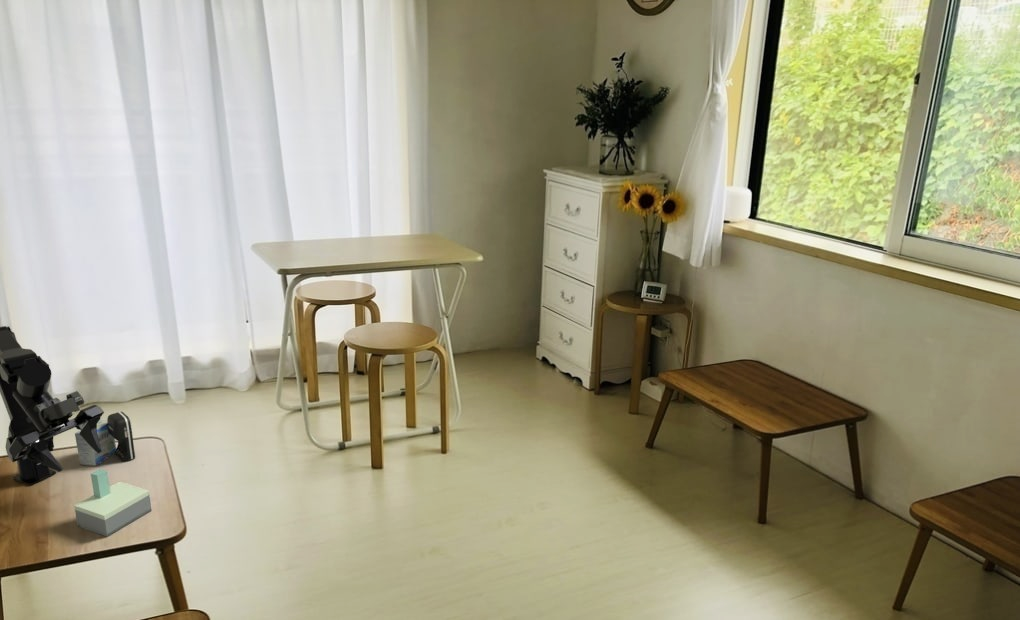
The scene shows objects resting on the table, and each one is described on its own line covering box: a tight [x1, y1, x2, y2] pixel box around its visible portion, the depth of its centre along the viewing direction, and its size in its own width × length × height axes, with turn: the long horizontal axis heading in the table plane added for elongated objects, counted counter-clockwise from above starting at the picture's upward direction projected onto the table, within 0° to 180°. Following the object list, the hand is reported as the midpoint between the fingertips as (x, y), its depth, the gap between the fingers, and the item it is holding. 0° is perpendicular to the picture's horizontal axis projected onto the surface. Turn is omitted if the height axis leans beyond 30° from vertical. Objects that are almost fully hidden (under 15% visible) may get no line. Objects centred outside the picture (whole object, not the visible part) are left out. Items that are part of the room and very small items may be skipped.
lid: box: [73, 468, 150, 520], centre depth 158 cm, size 9×11×6 cm
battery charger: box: [106, 411, 136, 462], centre depth 185 cm, size 7×4×11 cm, turn 45°
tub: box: [74, 494, 153, 538], centre depth 160 cm, size 9×11×4 cm
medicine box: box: [74, 419, 117, 467], centre depth 184 cm, size 8×4×9 cm, turn 170°
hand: (81, 461), depth 160 cm, fingers open, 9 cm apart
